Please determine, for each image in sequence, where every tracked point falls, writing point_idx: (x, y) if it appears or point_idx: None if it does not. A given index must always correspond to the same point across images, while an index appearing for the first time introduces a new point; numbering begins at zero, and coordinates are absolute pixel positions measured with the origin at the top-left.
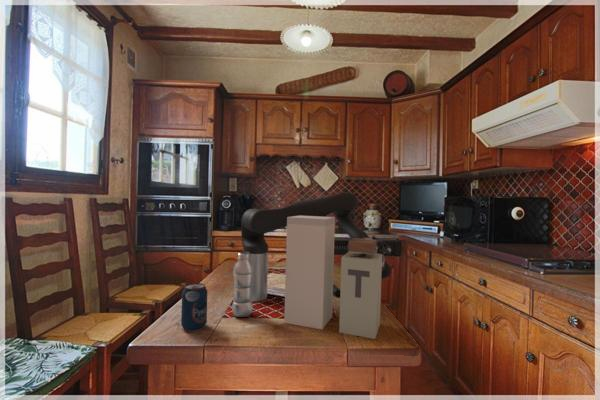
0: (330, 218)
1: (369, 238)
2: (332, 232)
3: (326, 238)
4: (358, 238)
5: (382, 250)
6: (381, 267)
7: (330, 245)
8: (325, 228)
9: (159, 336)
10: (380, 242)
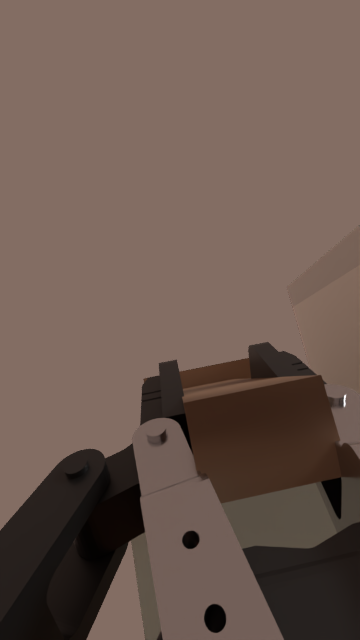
0: (314, 265)
1: (237, 387)
2: (355, 314)
3: (312, 345)
4: (233, 361)
5: (86, 622)
6: (138, 571)
7: (355, 376)
8: (295, 314)
9: None
10: (108, 458)
